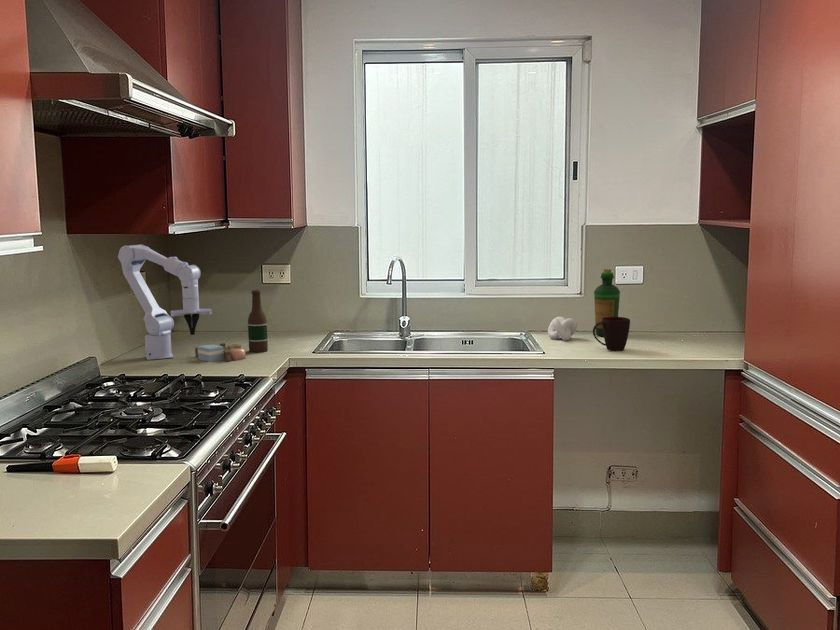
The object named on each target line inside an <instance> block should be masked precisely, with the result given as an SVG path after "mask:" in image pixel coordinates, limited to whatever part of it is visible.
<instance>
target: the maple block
mask: <svg viewBox="0 0 840 630" xmlns="http://www.w3.org/2000/svg"><path fill="white" fill-rule="evenodd" d="M226 347H227V349H228V350H230V349H235V348H242V345H241V344H238V343H236V344H235V343H234V344H227V346H226Z"/></svg>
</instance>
